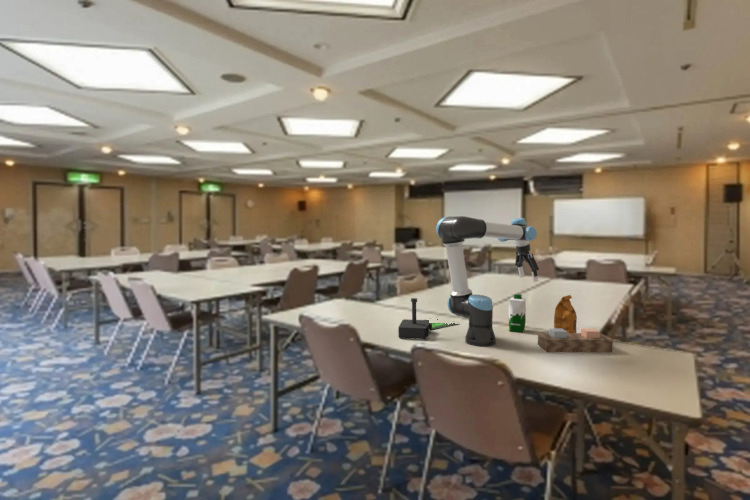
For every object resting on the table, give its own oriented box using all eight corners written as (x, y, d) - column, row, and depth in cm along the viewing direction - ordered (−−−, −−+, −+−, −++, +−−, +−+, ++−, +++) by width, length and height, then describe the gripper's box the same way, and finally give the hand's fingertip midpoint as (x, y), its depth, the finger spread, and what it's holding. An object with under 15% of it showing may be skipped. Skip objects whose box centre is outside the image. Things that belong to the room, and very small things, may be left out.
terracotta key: (586, 342, 197) (586, 331, 196) (580, 338, 203) (581, 328, 202) (599, 342, 197) (599, 331, 196) (593, 338, 202) (593, 328, 202)
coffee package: (579, 336, 221) (580, 295, 219) (570, 341, 212) (570, 298, 211) (560, 333, 228) (561, 293, 227) (550, 337, 219) (551, 296, 218)
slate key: (554, 342, 197) (554, 331, 197) (549, 338, 203) (549, 328, 203) (567, 342, 197) (567, 331, 197) (561, 338, 203) (562, 328, 203)
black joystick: (429, 340, 218) (429, 302, 217) (398, 338, 222) (397, 301, 221) (432, 331, 237) (432, 296, 236) (403, 330, 240) (402, 295, 239)
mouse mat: (437, 318, 271) (437, 316, 271) (462, 324, 253) (462, 322, 253) (404, 324, 255) (404, 322, 255) (429, 331, 237) (429, 329, 237)
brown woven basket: (546, 352, 195) (546, 339, 195) (537, 344, 207) (537, 333, 206) (612, 352, 194) (612, 339, 193) (599, 345, 206) (600, 332, 205)
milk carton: (526, 329, 237) (526, 294, 236) (523, 333, 229) (524, 297, 228) (510, 328, 241) (510, 293, 240) (507, 331, 233) (507, 296, 232)
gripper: (541, 245, 231) (547, 281, 234) (516, 240, 255) (522, 273, 259) (529, 248, 229) (536, 285, 233) (505, 244, 253) (511, 277, 257)
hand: (528, 279), depth 246 cm, fingers open, 13 cm apart
